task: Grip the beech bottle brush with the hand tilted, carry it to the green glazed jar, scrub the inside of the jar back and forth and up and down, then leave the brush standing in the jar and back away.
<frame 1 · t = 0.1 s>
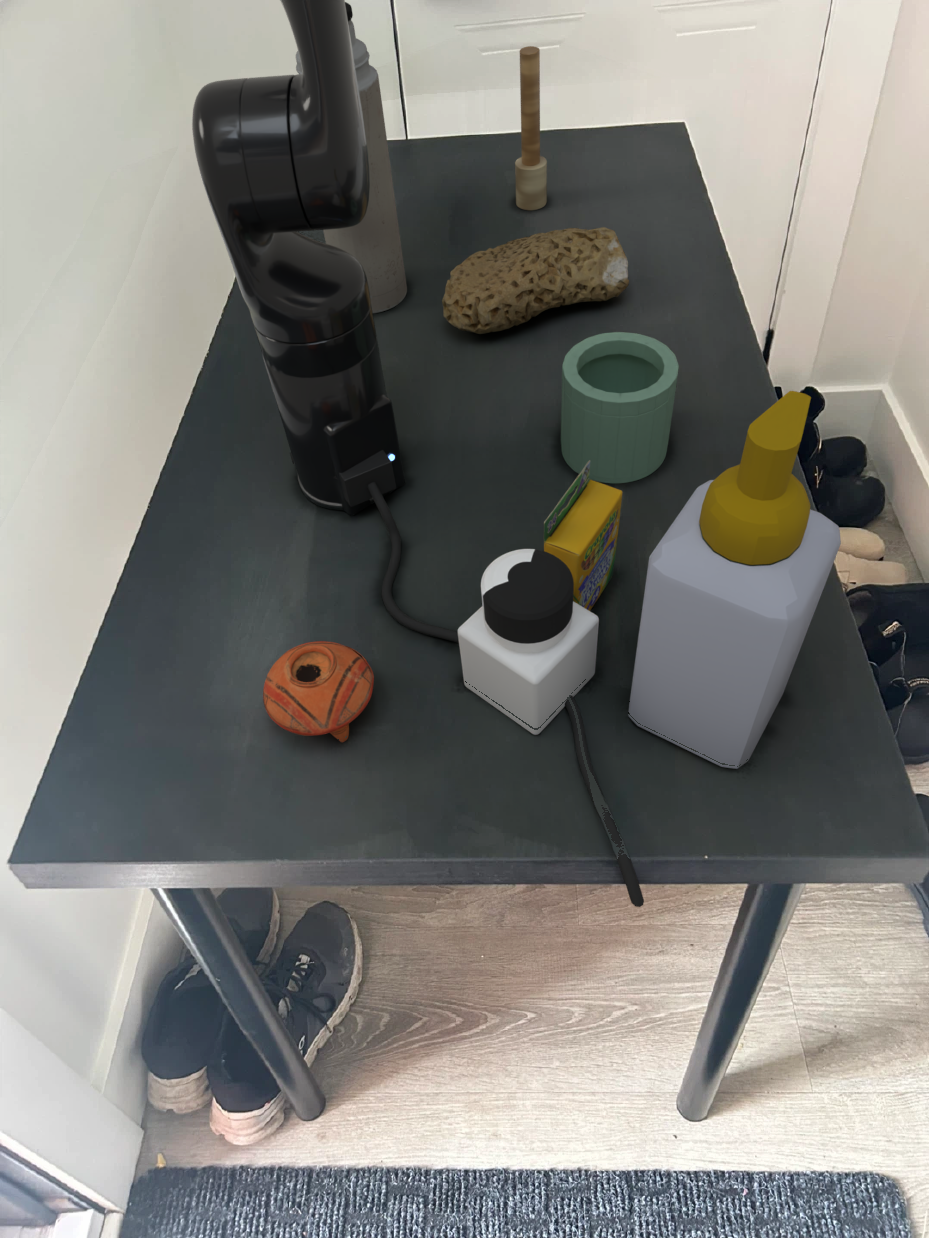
bottle brush: (531, 203, 110), on the table
medicine bottle: (529, 681, 66), on the table
thermos bottle: (372, 295, 100), on the table
jar: (613, 447, 81), on the table
crayon box: (578, 603, 71), on the table
sponge: (533, 308, 96), on the table
soap bottle: (704, 705, 64), on the table
pot: (327, 713, 66), on the table
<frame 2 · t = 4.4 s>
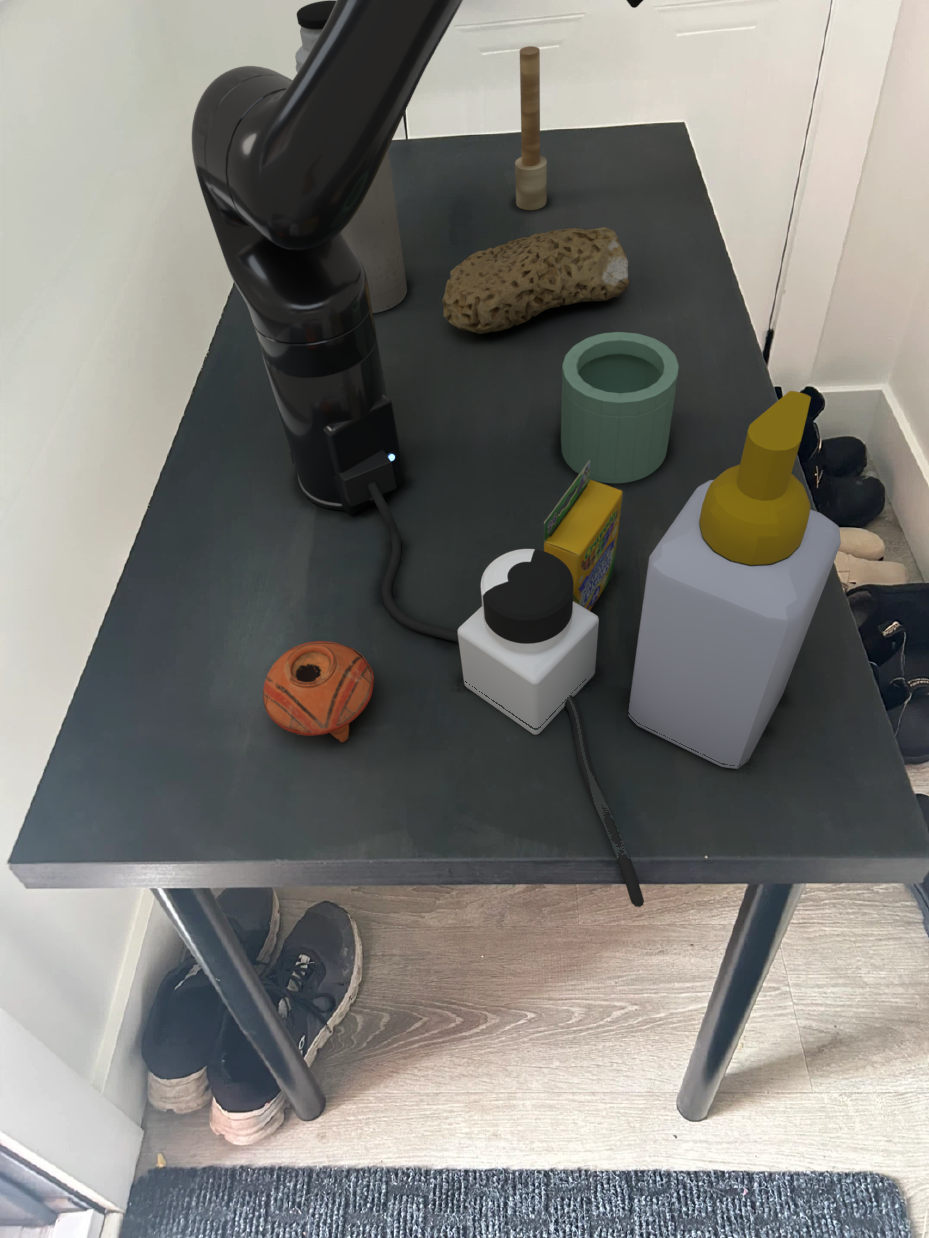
nothing on the table moved.
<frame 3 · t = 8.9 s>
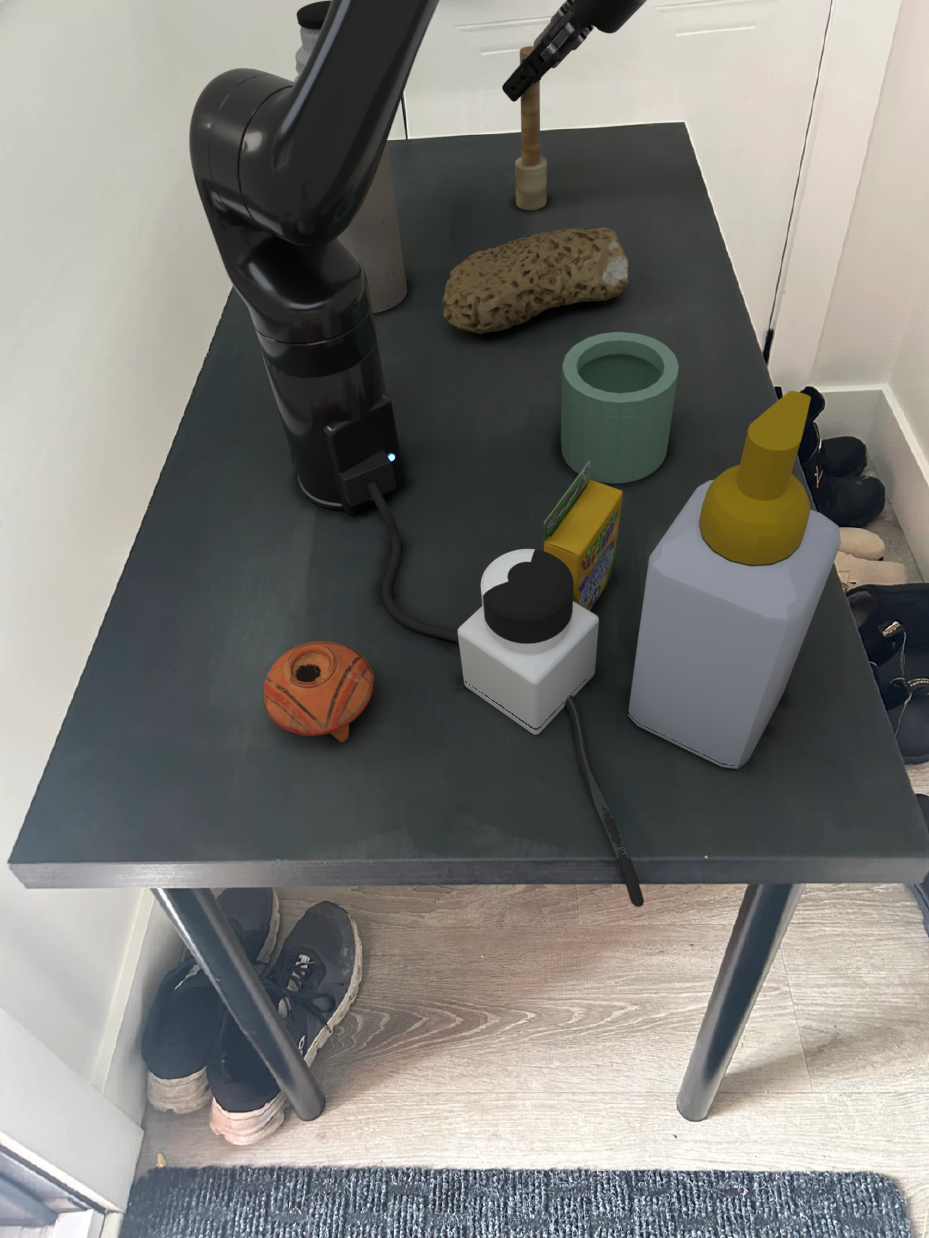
hand: (512, 89, 100), 13 cm above the table, tool tilted 45°, fingers closed on bottle brush, 2 cm apart
bottle brush: (531, 203, 110), on the table, touching gripper
everything else where it was.
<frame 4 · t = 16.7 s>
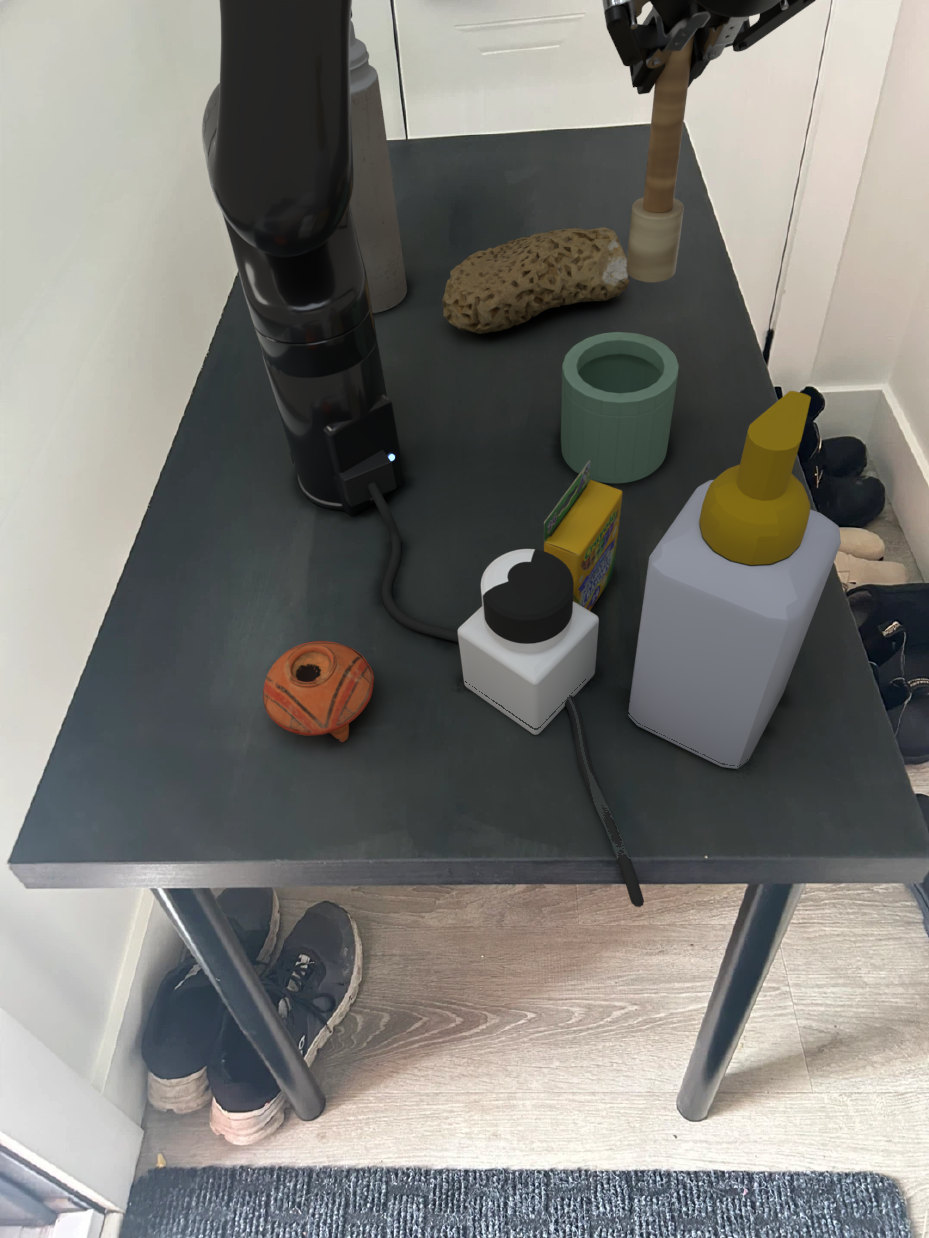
hand: (659, 77, 61), 29 cm above the table, tool tilted 45°, fingers closed on bottle brush
bottle brush: (650, 270, 69), point 17 cm above the table, touching gripper
everything else where it was.
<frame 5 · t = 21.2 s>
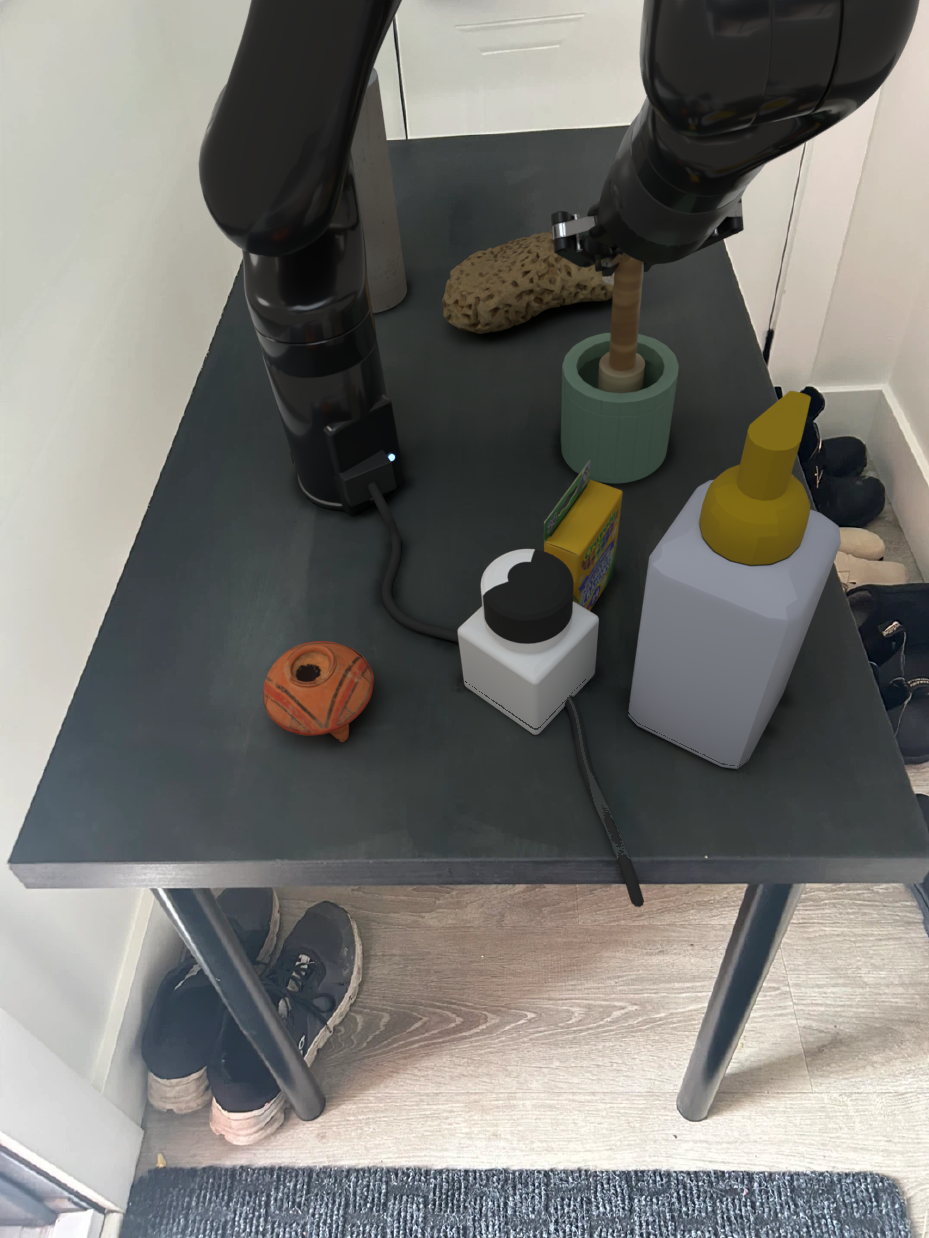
hand: (622, 261, 69), 17 cm above the table, tool tilted 45°, fingers closed on bottle brush
bottle brush: (618, 410, 78), point 4 cm above the table, touching gripper
everything else where it was.
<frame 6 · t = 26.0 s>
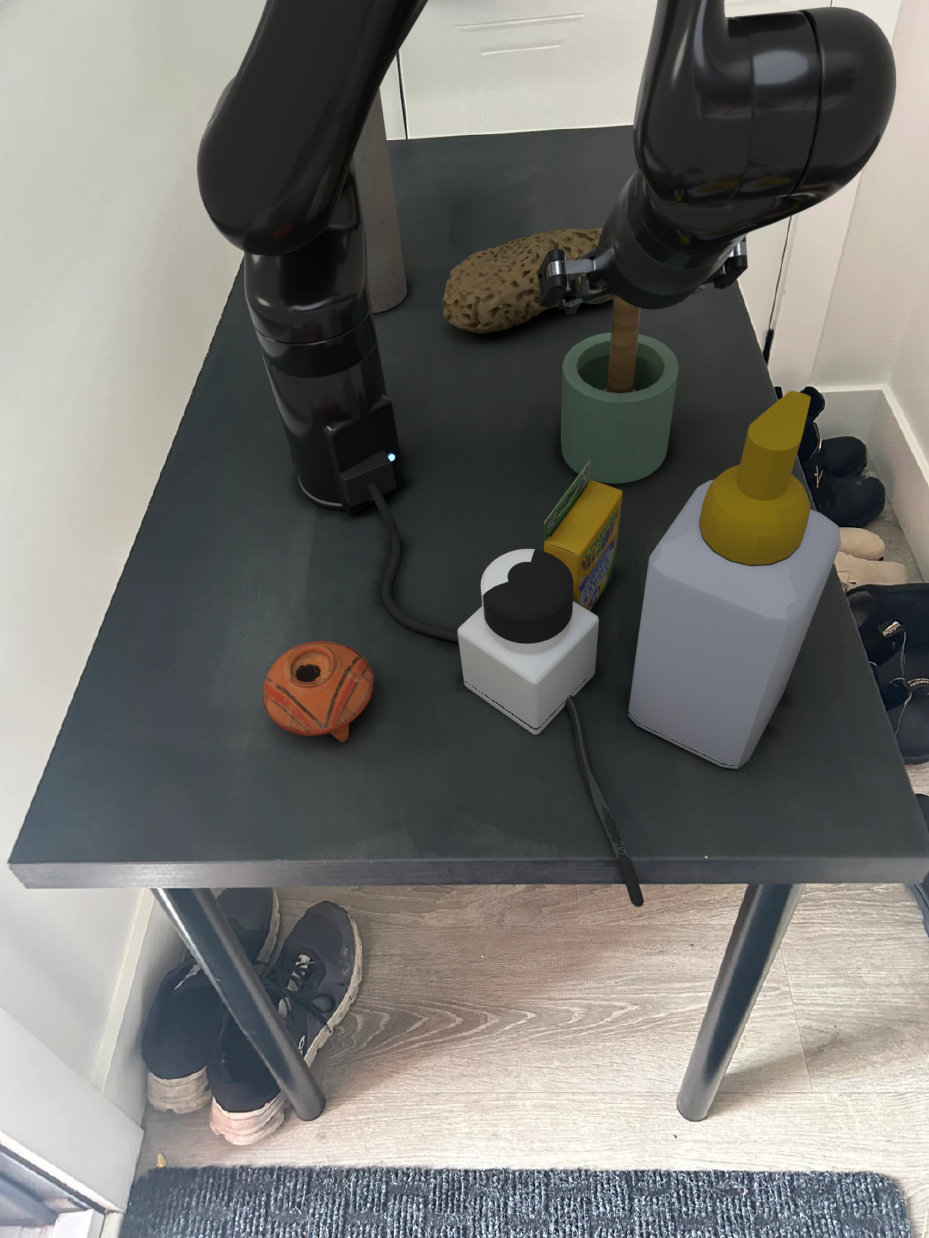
hand: (621, 295, 71), 15 cm above the table, tool tilted 45°, fingers open, 8 cm apart
bottle brush: (615, 443, 81), point 1 cm above the table, touching jar
everything else where it was.
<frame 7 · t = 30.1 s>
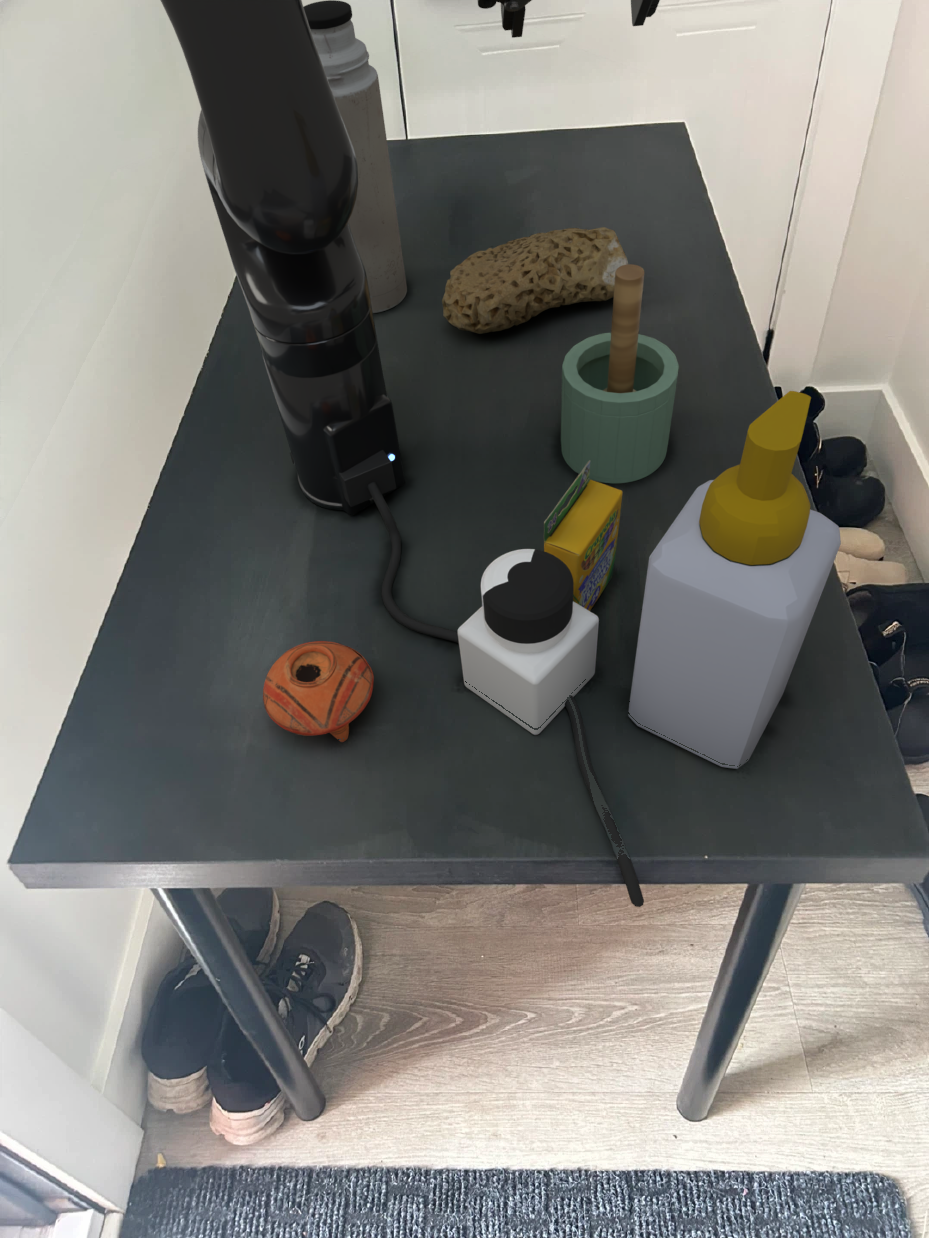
hand: (575, 18, 62), 32 cm above the table, tool tilted 45°, fingers open, 8 cm apart
nothing on the table moved.
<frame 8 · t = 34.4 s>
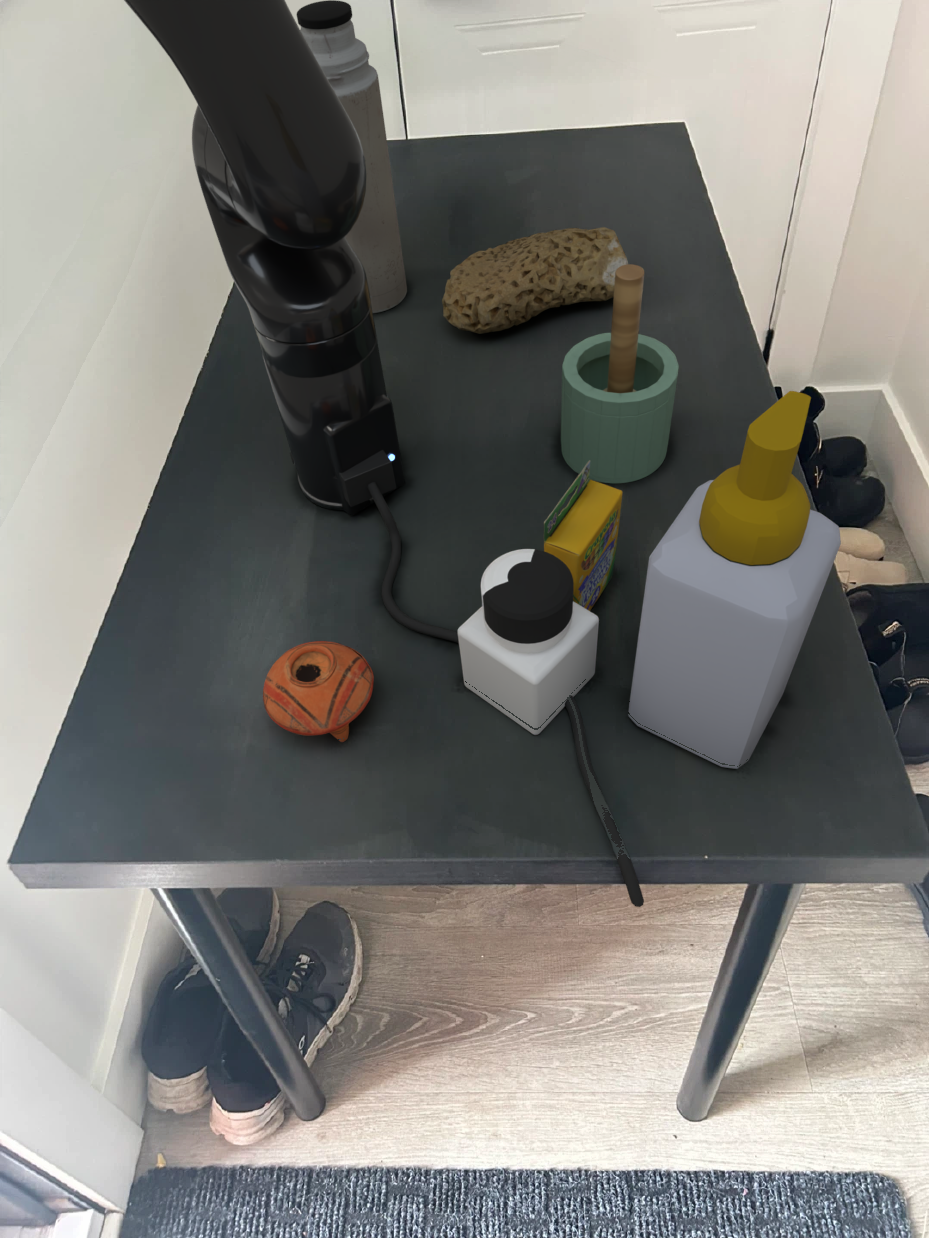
nothing on the table moved.
at the end: bottle brush 0.2 cm off-centre in the jar, point 0.6 cm above the jar's base; the gripper is holding nothing; bottle brush tilted 0° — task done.
